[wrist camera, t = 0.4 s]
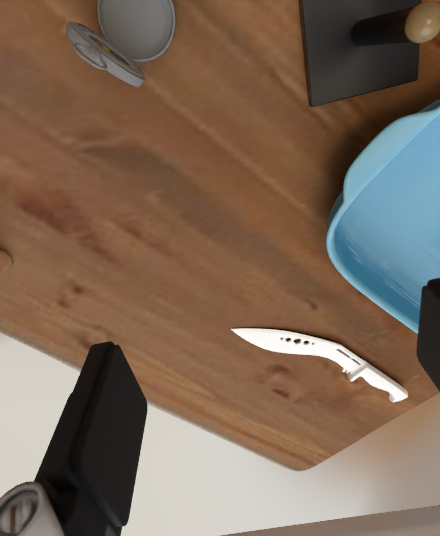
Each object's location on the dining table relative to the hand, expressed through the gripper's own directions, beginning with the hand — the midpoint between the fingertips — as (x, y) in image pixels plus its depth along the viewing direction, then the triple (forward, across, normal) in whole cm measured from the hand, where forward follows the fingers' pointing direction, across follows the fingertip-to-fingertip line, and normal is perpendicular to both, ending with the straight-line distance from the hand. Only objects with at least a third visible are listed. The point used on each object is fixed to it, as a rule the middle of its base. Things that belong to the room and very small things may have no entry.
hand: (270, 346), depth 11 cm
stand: (+30, -14, -7) cm, 34 cm away
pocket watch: (+30, +6, -12) cm, 33 cm away
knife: (+30, -8, +34) cm, 46 cm away
